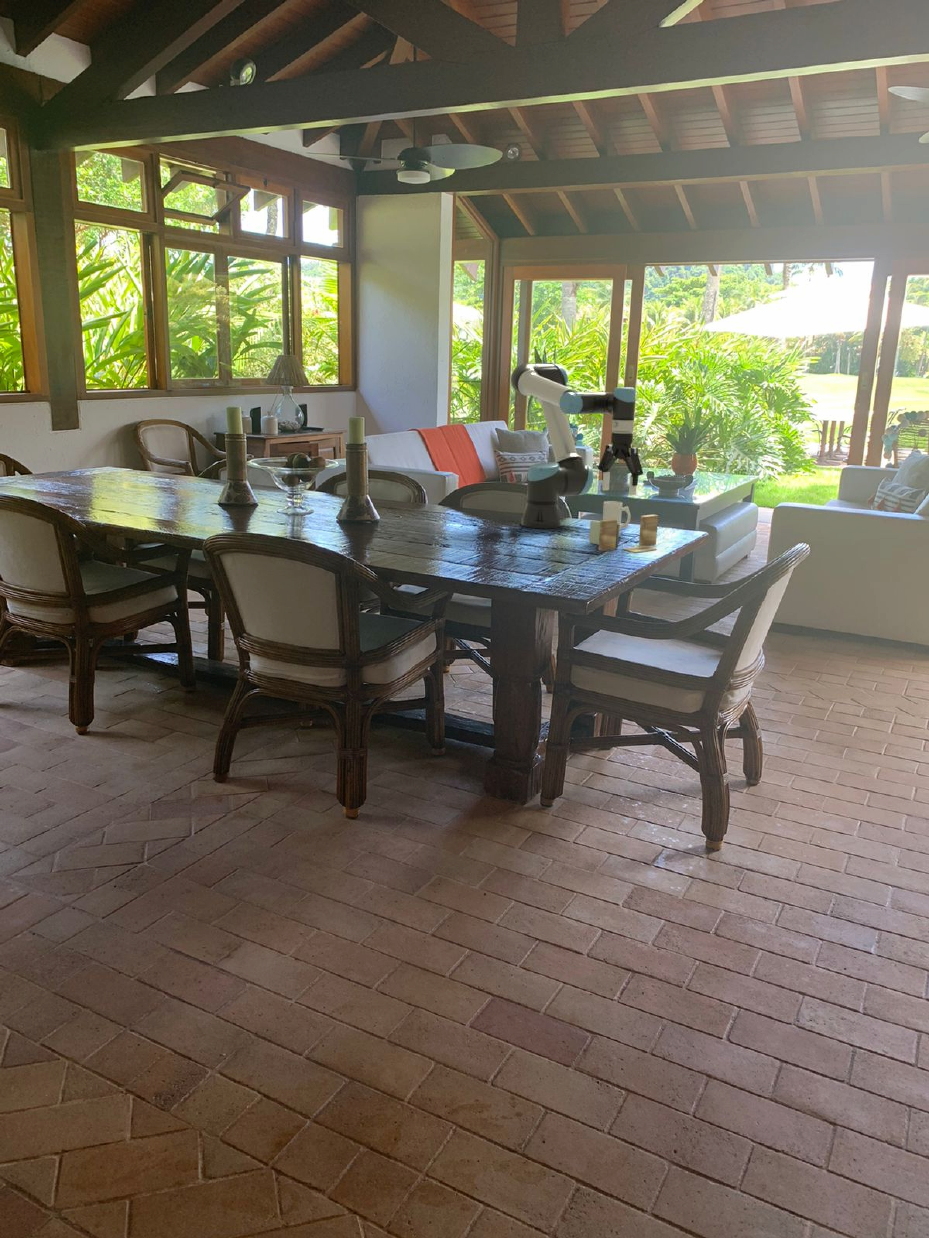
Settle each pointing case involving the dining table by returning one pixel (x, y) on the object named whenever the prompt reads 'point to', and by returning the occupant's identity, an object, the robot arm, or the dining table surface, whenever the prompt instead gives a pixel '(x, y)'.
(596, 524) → the gate door
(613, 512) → the mug
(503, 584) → the dining table surface
